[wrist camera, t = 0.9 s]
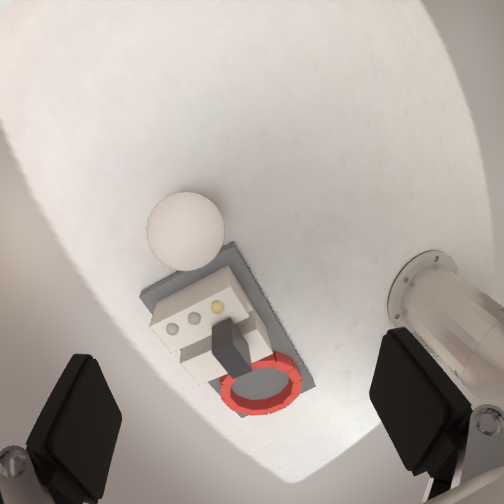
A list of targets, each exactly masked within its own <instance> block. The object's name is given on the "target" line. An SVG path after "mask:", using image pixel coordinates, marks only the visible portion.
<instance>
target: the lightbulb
mask: <svg viewBox="0 0 504 504" xmlns="http://www.w3.org/2000/svg"><path fill="white" fill-rule="evenodd" d="M224 235H225V227H224V221H223V218H222V216H221V213H220V211H219V210H218V208H217V207H216V206H215V205H214V204H213V203H212V202H211V201H210V200H209V199H207V198H206V197H204V196H202V195H200V194H197V193H192V192H179V193H174V194H172V195H169V196H167V197H166V198H164V199H163V200H161V201H160V202H159V203H158V204H157V205H156V206H155V207H154V209H153V211H152V212H151V214H150V216H149V219H148V223H147V240H148V244H149V247H150V249H151V251H152V253H153V254H154V255H155V257H156V258H157V259H158V260H159V261H160V262H161V263H162V264H164V265H166V266H167V267H169V268H172V269H174V270H179V271H191V270H196V269H198V268H201V267H203V266H205V265H207V264H208V263H209V262H211V261H212V260H213V259H214V258H215V256H216V255H217V254H218V252H219V251H220V249H221V247H222V244H223V241H224Z"/></svg>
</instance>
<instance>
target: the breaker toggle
mask: <svg viewBox="0 0 504 504" xmlns="http://www.w3.org/2000/svg"><path fill="white" fill-rule="evenodd" d="M212 354H213V355H214V357H215V358H216V359H217V360H218V362H219V363H220V364H221V365H222V367H223V368H224V369H225V370H226V372H227V373H228V374H229V375H230V376H231V378H232V379H235V378H237V377H240V376H242V375H244V374H247V373H249V372H251V371H253V368H252V363H251V357H250V351H249V345H248V343H247V341H246V340H245V338H244V337H243V336H242V334H241V333H240V331H239V330H238V328H237V327H236V324H234V322H233V321H232V319H231V318H229V319H227V320H224V321H222V322H220V323H218V324H216V325H214V326H212Z"/></svg>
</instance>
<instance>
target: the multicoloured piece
mask: <svg viewBox="0 0 504 504" xmlns="http://www.w3.org/2000/svg"><path fill="white" fill-rule="evenodd" d="M139 297H140V299H141V300H142V301H143V303H144V304H145V305H146V307H147V308H148V309H149V311H150V312H151V313H152V315H153V316H152V319H151V322H150V325H149V327H150V329H151V330H152V331H153V332H154V334H155V335H156V336H157V337H158V339H159V340H160V341H161V342H162V344H163V345H164V346H165V347H166V348H167V350H168V351H169V352H170V353H172V352H175V351H177V350H179V349H180V350H181V356H180V365H181V366H182V367H183V368H184V369H185V370H186V372H187V373H188V374H189V375H190V376H191V377H192V378H193V379H194V380H195V382H196V383H197V384H198V385H201V384H203V383H206V382H208V383H209V384H210V385H211V386H212V387H213V388H214V389H215V390H216V392H217V393H218V394H219V395H220V396H221V398H222V400H223V402H224V403H225V404H226V405H227V406H228V407H229V408H230V409H232V410H233V411H235V412H236V413H237V414H238V415H239V416H240V417H241V418H242V417H245V416H248V415H267V414H268V412H269V413H270V414H271V413H274V412H276V411H279V410H281V409H283V408H286V406H289V405H290V404H291V403H292V402H293V401H294V400H295V399H296V398H297V397H298V396H299V394H301V393H303V392H305V391H307V390H310V389H312V388H314V387H316V386H315V383H314V381H313V379H312V377H311V375H310V374H309V372H308V370H307V369H306V367H305V365H304V363H303V362H302V360H301V358H300V357H299V355H298V353H297V351H296V350H295V348H294V346H293V345H292V343H291V341H290V339H289V338H288V336H287V334H286V333H285V331H284V329H283V327H282V326H281V324H280V322H279V320H278V319H277V317H276V315H275V314H274V312H273V310H272V308H271V307H270V305H269V303H268V301H267V300H266V298H265V296H264V294H263V293H262V291H261V289H260V288H259V286H258V284H257V282H256V281H255V279H254V277H253V275H252V274H251V272H250V270H249V268H248V267H247V265H246V263H245V261H244V260H243V258H242V256H241V254H240V253H239V251H238V249H237V247H236V245H235V244H234V242H232V243H230V244H228V245H226V246H224V247H222V248H221V249H220V251H219V252H218V254H217V255H216V256H215V258H214V259H213V260H212V261H211V262H209V263H208V264H207V265H205V266H203V267H201V268H198V269H196V270H191V271H177V272H176V273H174V274H172V275H170V276H168V277H166V278H165V279H163V280H161V281H159V282H157V283H155V284H154V285H152V286H150V287H148V288H146V289H144V290H143V291H142V292H141V294H140V296H139ZM229 318H231V319H232V321H233V322H234V324H236V327H237V328H238V330H239V331H240V333H241V334H242V336H243V337H244V338H245V340H246V341H247V343H248V345H249V351H250V357H251V363H252V368H253V371H251V372H249V373H247V374H244V375H242V376H240V377H237V378H235V379H232V378H231V376H230V375H229V374H228V373H227V372H226V370H225V369H224V368H223V367H222V365H221V364H220V363H219V362H218V360H217V359H216V358H215V357H214V355H213V354H212V326H214V325H216V324H218V323H220V322H222V321H224V320H227V319H229Z"/></svg>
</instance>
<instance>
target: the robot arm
mask: <svg viewBox="0 0 504 504" xmlns="http://www.w3.org/2000/svg"><path fill="white" fill-rule="evenodd" d="M388 311H389V316H390V319H391V321H392V322H393V323H394V325H395V326H396V327H397V328H395V329H390V330H388V331H387V334H386V335H384V336H383V338H382V342H381V347H380V351H379V356H378V360H377V364H376V368H375V372H374V376H373V380H372V383H371V387H370V391H369V396H370V400H371V402H372V404H373V406H374V408H375V410H376V411H377V413H378V415H379V417H380V419H381V421H382V423H383V425H384V427H385V429H386V431H387V433H388V434H389V436H390V438H391V440H392V442H393V444H394V446H395V448H396V450H397V452H398V454H399V456H400V458H401V460H402V462H403V464H404V466H405V468H406V469H407V470H408V471H412V473H413V475H414V476H417V475H419V474H421V473H424V472H426V471H427V472H428V474H429V475H430V480H429V483H428V486H427V489H426V492H425V495H424V497H423V500H422V503H421V504H504V411H502V409H500V408H499V407H497V406H495V405H491V404H484V405H480V406H478V407H477V408H475V409H474V411H473V410H472V409H471V404H470V402H469V401H468V400H467V399H466V397H465V396H464V395H463V394H462V392H461V391H460V390H459V389H458V387H457V386H456V385H455V384H454V383H453V381H452V380H451V379H450V378H449V376H448V375H447V374H446V373H445V372H444V371H443V369H442V368H441V367H440V366H439V365H438V363H437V362H436V361H435V360H434V359H433V358H432V356H431V355H430V354H429V353H428V352H427V351H426V349H425V348H424V347H423V346H422V345H421V344H420V343H419V342H418V340H417V339H416V338H415V337H414V336H413V335H412V334H411V333H415V332H417V333H418V334H419V335H420V337H421V338H422V339H423V340H424V341H425V342H426V343H427V344H428V345H429V346H430V347H431V348H432V350H433V351H434V352H435V353H436V354H437V355H438V356H439V357H440V358H441V359H442V361H443V362H444V363H445V364H446V365H447V366H448V367H449V368H450V369H451V371H452V372H453V373H454V374H455V375H456V376H457V378H458V379H459V380H460V381H461V382H462V383H463V385H465V387H467V389H468V390H469V391H470V392H471V393H472V394H473V395H475V396H476V397H478V398H480V399H484V400H497V399H504V307H502V306H501V305H500V304H498V303H497V302H496V301H494V300H493V299H491V298H490V297H489V296H487V295H486V294H484V293H483V292H482V291H480V290H479V289H477V288H476V287H474V286H473V285H471V284H470V283H468V282H467V281H466V280H464V279H463V278H461V277H460V276H458V272H457V267H456V265H455V263H454V261H453V260H452V259H451V258H450V257H449V256H448V255H446V254H444V253H442V252H439V251H429V252H426V253H423V254H421V255H419V256H417V257H416V258H414V259H413V260H412V261H411V262H409V263H408V264H407V266H406V267H405V268H404V269H403V270H402V271H401V273H400V274H399V276H398V277H397V279H396V281H395V283H394V284H393V287H392V290H391V292H390V296H389V301H388ZM121 422H122V415H121V412H120V410H119V408H118V406H117V404H116V402H115V399H114V398H113V395H112V393H111V391H110V389H109V387H108V385H107V382H106V380H105V378H104V376H103V373H102V371H101V368H100V366H99V364H98V362H97V360H96V359H93V357H92V356H91V355H89V354H74V355H73V356H72V358H71V359H70V361H69V363H68V364H67V366H66V368H65V369H64V371H63V373H62V375H61V377H60V378H59V380H58V382H57V383H56V385H55V387H54V389H53V391H52V393H51V394H50V396H49V398H48V400H47V402H46V404H45V406H44V407H43V409H42V411H41V413H40V415H39V417H38V419H37V421H36V423H35V425H34V427H33V429H32V431H31V433H30V435H29V437H28V440H27V442H26V445H27V448H26V450H25V449H24V448H22V447H20V446H15V445H12V446H8V447H6V448H4V449H3V450H1V451H0V504H83V502H85V503H89V504H97V503H98V499H101V498H102V497H103V494H104V489H105V484H106V481H107V476H108V472H109V468H110V463H111V459H112V456H113V452H114V448H115V444H116V441H117V437H118V433H119V430H120V426H121Z"/></svg>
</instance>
